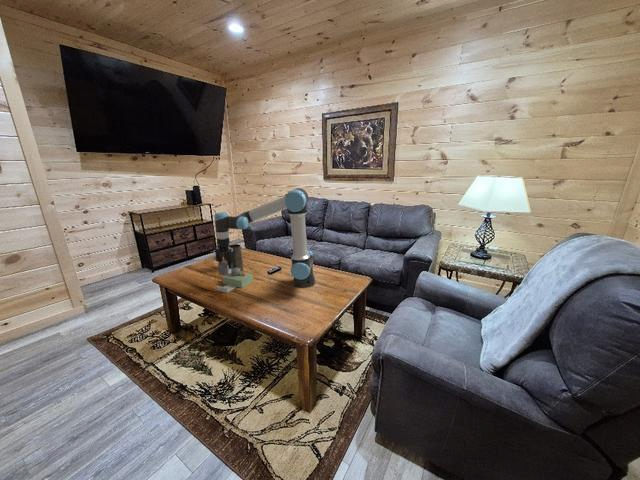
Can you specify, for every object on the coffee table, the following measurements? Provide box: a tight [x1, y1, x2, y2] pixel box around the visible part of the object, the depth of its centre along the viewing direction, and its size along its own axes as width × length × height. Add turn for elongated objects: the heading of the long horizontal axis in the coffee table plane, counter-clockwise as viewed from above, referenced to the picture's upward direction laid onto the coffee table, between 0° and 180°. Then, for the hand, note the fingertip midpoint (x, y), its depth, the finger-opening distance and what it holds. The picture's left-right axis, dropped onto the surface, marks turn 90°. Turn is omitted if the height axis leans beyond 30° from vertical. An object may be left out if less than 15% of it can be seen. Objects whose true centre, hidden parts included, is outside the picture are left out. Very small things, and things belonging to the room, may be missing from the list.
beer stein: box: [223, 243, 244, 272], centre depth 200 cm, size 15×11×20 cm
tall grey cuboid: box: [217, 260, 233, 276], centre depth 168 cm, size 5×7×7 cm
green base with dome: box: [216, 268, 254, 294], centre depth 176 cm, size 16×22×9 cm
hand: (226, 272), depth 169 cm, fingers closed on tall grey cuboid, 5 cm apart
